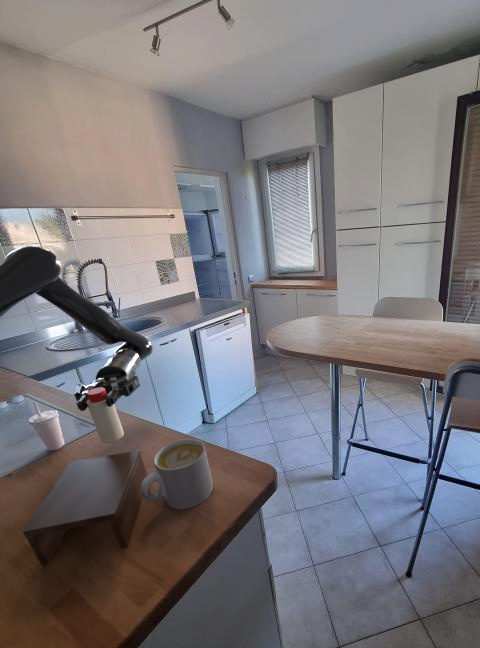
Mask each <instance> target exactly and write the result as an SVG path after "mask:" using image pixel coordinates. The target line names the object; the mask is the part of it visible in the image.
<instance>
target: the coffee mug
mask: <svg viewBox="0 0 480 648" xmlns="http://www.w3.org/2000/svg"><path fill="white" fill-rule="evenodd" d="M153 465H154V467H155V471H153V472H151V473H149V474H147V477H146V478H144V480H143V481H142V484H141V490H142V494H143V498H144V499H146V500H147V501H148V502H151V503H153V502H158V501H165V503H166V505H167V506H168V507H170V508H172V509H174V510H188V509H192V508H194V507H197V506H198V505H200V504H202V503H203V502H204V501H206V500H207V499H208V498H209V497H210V495H211V494H212V492H213V490H214V481H213V477H212V472H211V468H210V463H209V459H208V456H207V451H206V447H205V444H204V443H203V441H201V440H198V439H195V438H182V439H178V440H175V441H172V442H170V443H167V444H166V445H164V446H163V447H161V448H160V449H159V450H158V451H157V452H156V454H155V455H154V458H153ZM156 482H158V483H159V488H158V489H157V491H155V492H151V491H150V487H151V486H152V485H153V484H154V483H156Z"/></svg>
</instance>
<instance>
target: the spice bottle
mask: <svg viewBox="0 0 480 648" xmlns="http://www.w3.org/2000/svg"><path fill="white" fill-rule="evenodd" d="M87 394H88V397H89V400H88V401H87V405H88V407H87V409H88V411H89V413H90V416H91V419H92V421H93V424H94V427H95V429H96V431H97V434H98V437H99V439H100V442H101V443H103V444H112V443H114V442H117V441H119V440H120V439H122V438H123V437H124V435H125V431H124V429H123V426H122V423H121V419H120V417H119V415H118V411H117V409H116V406H115V404H113V406H111V407H108V406H107V403H106V400H105V398H106V397H107V395H108V394H107V393H106V390H105V388H103V387H99V388H94V389H92V390H90V391H88V392H87Z"/></svg>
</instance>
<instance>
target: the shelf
mask: <svg viewBox="0 0 480 648" xmlns="http://www.w3.org/2000/svg"><path fill="white" fill-rule="evenodd" d="M147 476H148V473H147V470H146V467H145V464H144V461H143V458H142V455H141V452H140V450H133V451H127V452H121V453H114V454H109V455H108V454H107V455H104V456H97V457H92V458H86V459H80V460H74V461H69V462H68V464H67V465H66V467H65V468H64V470H63V472H62V473H61V475H60V476H59V477H58V479H57V480H56V482H55V483H54V485H53V487H52V488H51V489H50V491H49V492H48V494H47V496H46V497H45V499H44V500H43V501H42V503H41V504H40V506H39V507H38V509H37V510H36V512H35V513H34V515H33V516H32V518H31V519H30V520H29V522H28V524H27V525H26V527H25V528H24V530H23V531H22V532H23V534H24V537H25V539H26V540H27V542H28V544H29V546H30V548H31V549H32V551H33V554H34V555H35V556H36V558H37V560H38V561H39V564H40V565H41V566H44V565H48V564H50V562H51V561H52V559H53V557H54V554H55V553H56V551H57V550H58V547H59V545H60V543H61V541H62V540H63V538H64V536H65V534H66V532H67V530H68V529H73V528H78V527H82V526H87V525H93V524H97V523H102V522H107V521H108V522H109V524H110V526H111V529H112V532H113V534H114V536H115V539H116V541H117V543H118V546H119V549H123V548H124V549H125V548H128V545H129V542H130V539H131V536H132V533H133V531H134V527H135V523H136V520H137V518H138V517H137V516H138V513H139V510H140V507H141V503H142V500H143V498H144V495H143V494H142V490H141V484H142V481H143V480H144V478H146V477H147Z"/></svg>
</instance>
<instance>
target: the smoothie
mask: <svg viewBox="0 0 480 648" xmlns="http://www.w3.org/2000/svg"><path fill="white" fill-rule="evenodd" d="M32 404H33V406H34V408H35V411H36V412H37V413H35V414H34V415H32V416H31V417H29V419H28V425H30V426H31V427H32V428H33V430H34V431H35V432H36V434H37V436H39V438H40V439H41V441H42V443H43V444H44V445H45V447H46V448H47V450H48V451H49V450H51V451H50V452H52V451H53V450H54V451H57V450H59V449H61V448H63V447H64V446H65V440H64V435H63V432H62V428H61V424H60V419H59V416H60V414H59V413H58V410H56V409H48V410H47V409H46V410H44V411H40V408H39V406H38V404H37V401H33V402H32ZM63 445H64V446H63ZM62 446H63V447H62ZM54 451H53V452H54Z"/></svg>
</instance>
